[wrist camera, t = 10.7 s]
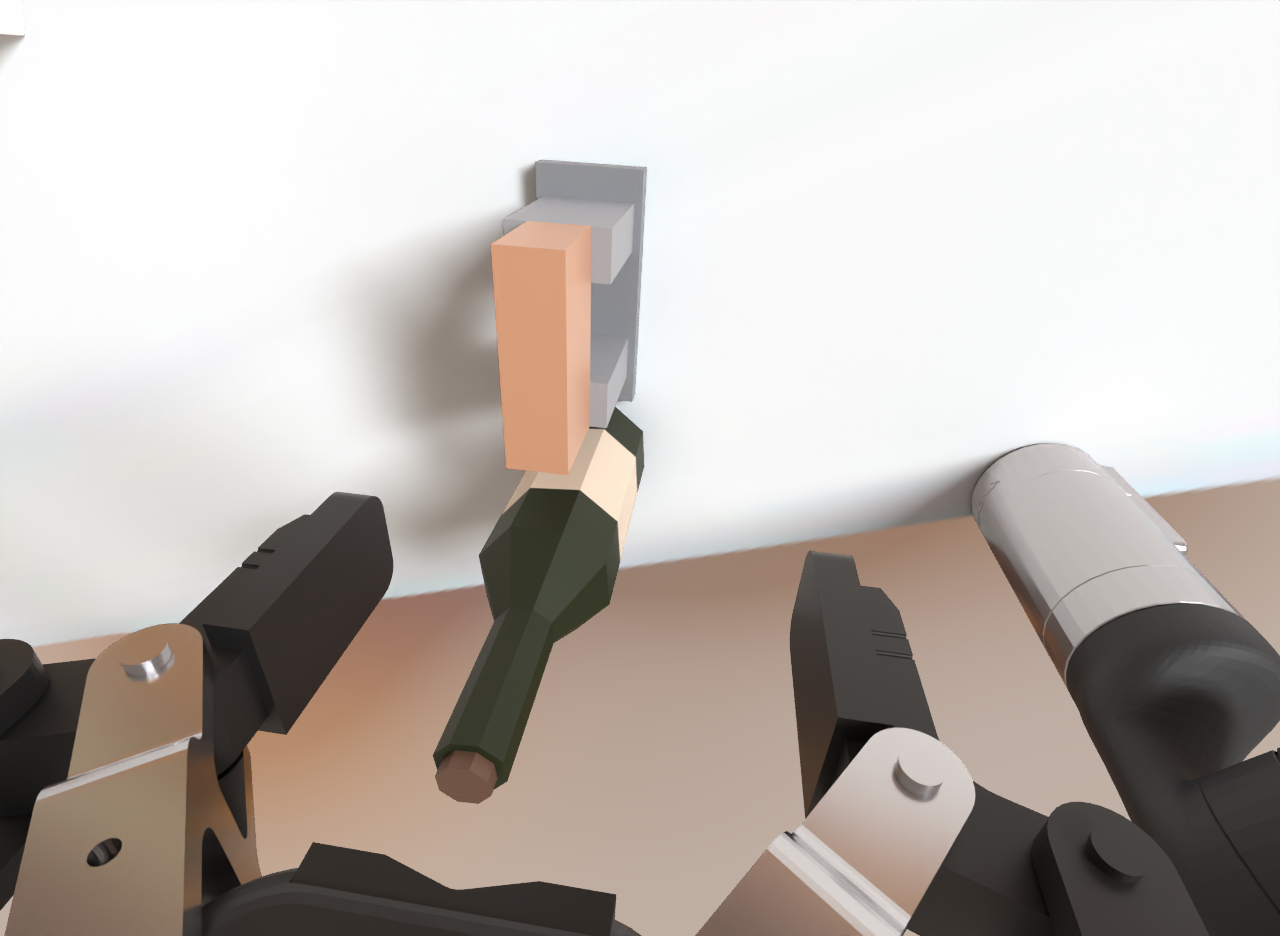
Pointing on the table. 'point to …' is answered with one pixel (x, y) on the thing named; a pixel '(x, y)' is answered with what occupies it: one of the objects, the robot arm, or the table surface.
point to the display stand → (600, 263)
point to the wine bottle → (539, 598)
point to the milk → (11, 17)
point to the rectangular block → (543, 342)
